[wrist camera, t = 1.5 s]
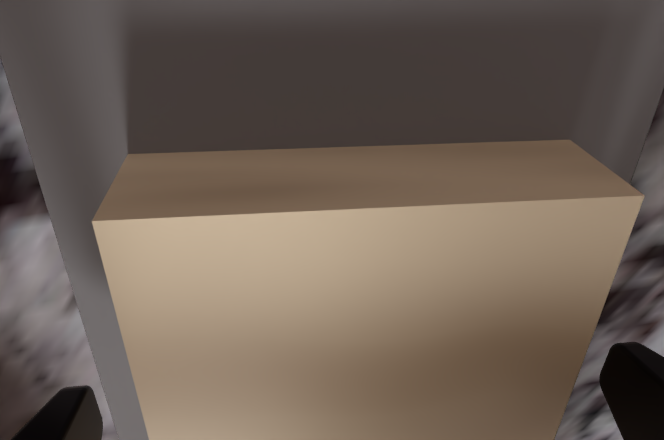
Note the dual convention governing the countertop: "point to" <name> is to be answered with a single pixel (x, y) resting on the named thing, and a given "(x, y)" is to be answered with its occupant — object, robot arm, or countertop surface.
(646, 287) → the countertop surface
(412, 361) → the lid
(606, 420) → the countertop surface
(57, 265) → the countertop surface
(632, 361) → the robot arm
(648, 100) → the mat
